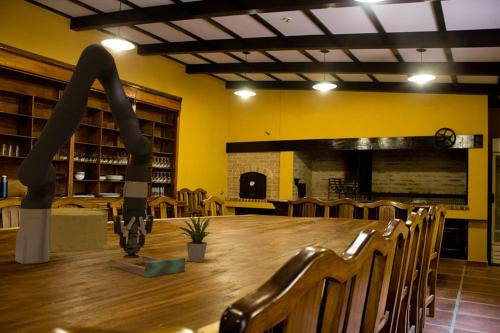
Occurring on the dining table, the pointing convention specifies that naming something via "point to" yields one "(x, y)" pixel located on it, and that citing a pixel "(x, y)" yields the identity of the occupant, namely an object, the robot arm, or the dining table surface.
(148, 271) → the guide channel
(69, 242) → the cheese
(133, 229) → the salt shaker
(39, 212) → the robot arm
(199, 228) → the house plant
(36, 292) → the dining table surface
